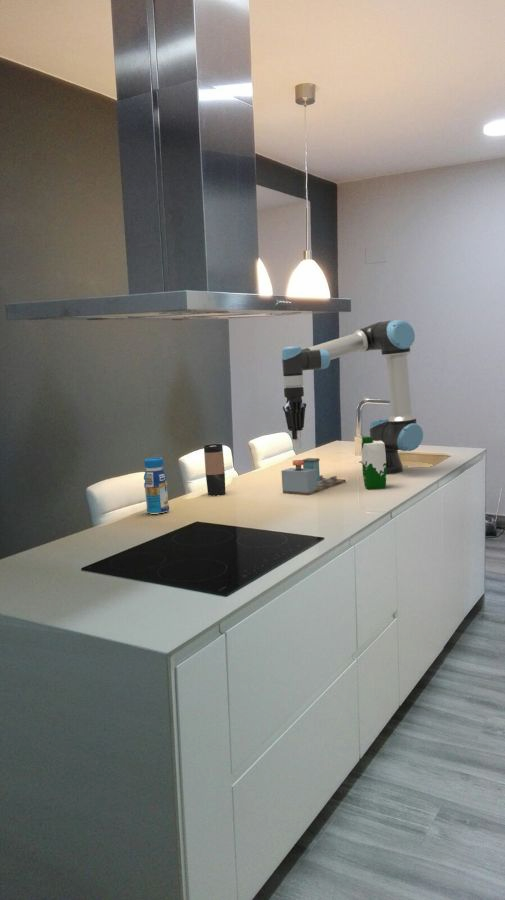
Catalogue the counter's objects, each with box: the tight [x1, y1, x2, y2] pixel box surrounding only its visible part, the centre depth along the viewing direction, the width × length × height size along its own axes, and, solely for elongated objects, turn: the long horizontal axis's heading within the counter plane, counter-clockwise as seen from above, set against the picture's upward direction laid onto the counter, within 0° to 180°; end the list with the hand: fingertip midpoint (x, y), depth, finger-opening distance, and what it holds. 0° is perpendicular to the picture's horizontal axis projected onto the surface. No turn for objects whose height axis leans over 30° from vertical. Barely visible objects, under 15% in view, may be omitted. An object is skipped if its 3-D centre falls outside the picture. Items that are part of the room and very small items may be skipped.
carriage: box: [302, 457, 321, 482], centre depth 288 cm, size 4×5×11 cm
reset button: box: [292, 459, 304, 471], centre depth 281 cm, size 4×4×4 cm
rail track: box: [282, 474, 347, 496], centre depth 290 cm, size 28×12×3 cm, turn 142°
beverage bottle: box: [143, 457, 170, 514], centre depth 262 cm, size 8×8×20 cm
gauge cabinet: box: [281, 467, 317, 493], centre depth 282 cm, size 6×12×8 cm, turn 52°
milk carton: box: [361, 436, 387, 491], centre depth 281 cm, size 9×9×20 cm
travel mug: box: [203, 443, 226, 497], centre depth 289 cm, size 8×8×20 cm
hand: (297, 447), depth 280 cm, fingers closed
